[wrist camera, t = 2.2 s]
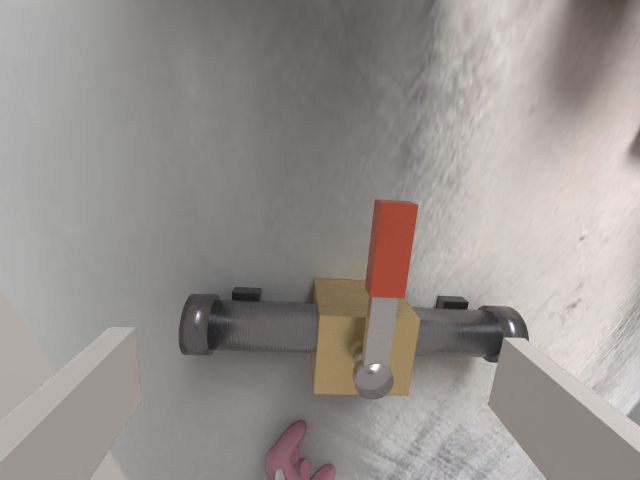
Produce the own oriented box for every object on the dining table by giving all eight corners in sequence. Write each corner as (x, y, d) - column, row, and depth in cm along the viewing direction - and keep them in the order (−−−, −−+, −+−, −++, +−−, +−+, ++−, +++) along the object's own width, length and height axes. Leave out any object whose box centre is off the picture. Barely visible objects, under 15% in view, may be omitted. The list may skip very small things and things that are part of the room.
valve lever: (386, 386, 27) (392, 402, 25) (349, 386, 26) (353, 401, 25) (413, 201, 23) (422, 204, 21) (371, 198, 23) (377, 201, 21)
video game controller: (279, 417, 42) (251, 472, 36) (306, 417, 39) (281, 475, 33) (312, 467, 44) (292, 526, 38) (340, 469, 42) (322, 532, 36)
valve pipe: (201, 273, 34) (158, 320, 24) (493, 286, 37) (569, 334, 27) (202, 337, 36) (163, 407, 26) (480, 345, 39) (547, 411, 29)
